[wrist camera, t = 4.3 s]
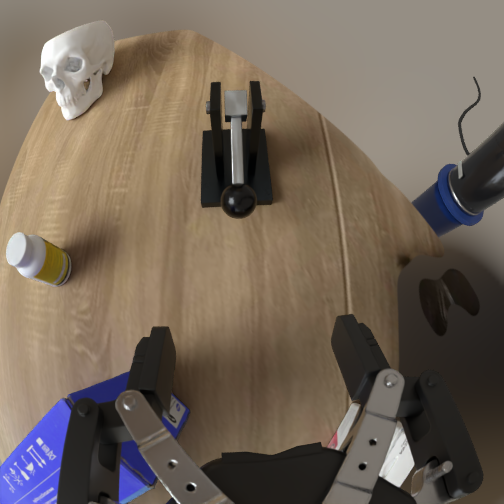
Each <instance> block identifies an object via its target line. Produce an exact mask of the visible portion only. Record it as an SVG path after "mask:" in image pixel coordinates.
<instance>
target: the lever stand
mask: <svg viewBox="0 0 504 504" xmlns="http://www.w3.org/2000/svg"><path fill="white" fill-rule="evenodd" d="M265 108H266V104H265V100H262V96H261V89H260V82H259V81H250V86H249V101H248V117H247V129H242V146H243V174H244V184H247V185H249V186H250V187H251V188H252V189H253V190H254V192H255V194H256V197H257V204H256V205H272V201H273V197H272V188H271V179H270V170H269V161H268V153H267V144H266V136H265V129H261V122H262V114H263V112H265ZM206 113H207V114H210V118H211V128H212V130H208V131H203V141H202V173H201V205H202V208H204V207H221V202H220V201H221V195H222V193H223V191H224V190H225V188H226V187H228V186H229V185H231V184H232V155H231V129H227V130H223V126H222V104H221V82H211V92H210V101H207V102H206Z"/></svg>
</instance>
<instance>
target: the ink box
mask: <svg viewBox="0 0 504 504" xmlns="http://www.w3.org/2000/svg"><path fill="white" fill-rule="evenodd" d="M359 406H360V404H357V403H352V404H351V406H350V408H349V410H348V412H347V414H346V415H345V417H344V419H343V421H342V422H341V424H340V426H339V428H338V430H337V431H336V433H335V435H334V436H333V438H332V440H331V441H330V443H329V445H328V446H327V448H333V449H336V450H339V448H340V446H341V445H342V443H343V441H344V439H345V438H346V436H347V434H348V432H349V429H350V427H351V425H352V423H353V420H354V418H355V416H356V413H357V411H358V409H359ZM395 420H396V419H395ZM413 466H414V460H413V457H412V454H411V451H410V448H409V445H408V441H407V438H406V435H405V432H404V430H403V427H402V424H401V422H400V421H398V420H397V426H396V429H395V433H394V436H393V439H392V442H391V445H390V448H389V450H388V453H387V456H386V458H385V461H384V464H383V466H382V469H381V471H380V474H379V476H381V477H382V478H384V479H385V480H387V481H389V482H390V483H392V484H394V485H395V486H397V487H400V486H401V484H402V483H403V481H404V480H405V478H406V477H407V475H408V474H409V472H410V471H411V469H412V468H413Z"/></svg>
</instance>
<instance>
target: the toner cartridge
mask: <svg viewBox="0 0 504 504" xmlns="http://www.w3.org/2000/svg"><path fill="white" fill-rule="evenodd" d="M129 374H130V371H129V372H126V373H123V374H121V375H119V376H116V377H114V378H112V379H109V380H106V381H104V382H101V383H98V384H96V385H93V386H91V387H88V388H85V389H83V390H80V391H77V392H74V393H71V394H69V395H68V396H67V397H68V399H66V398H62V399H61V400H60V401H59V402H58V403H57V404H56V405H55V406H54V407H53V408H52V409H51V410H50V411H49V412H48V413H47V414H46V415H45V416H44V417H43V418H42V420H41V421H40V422H39V423H38V424H37V425H36V426H35V427H34V429H33V430H32V431H31V432H30V433H29V434H28V435H27V437H26V438H25V439H24V440H23V441H22V442H21V443H20V444H19V445H18V446H17V448H16V449H15V450H14V451H13V452H12V453H11V455H10V456H9V457H8V458H7V459H6V461H5V462H4V463H3V464H2V465H1V466H0V504H57V492H58V482H59V474H60V466H61V460H62V454H63V448H64V442H65V437H66V432H67V427H68V423H69V418H70V414H71V410H72V406H73V405H74V403H75V402H76V401H77V400H79V399H81V398H91V399H93V400H94V401H95V402H96V403H103V402H108V401H113V400H116V399H117V397H118V396H119V395H120V394H121V393H122V392H124V391H125V389H126V386H127V382H128V378H129ZM189 414H190V410H189V409H188V408H187V407H186V406H185V405H184V404H183V403H182V402H181V401H180V400H179V399H178V398H176V397H175V395H174V394H173V393H172V395H171V404H170V415H169V416H162V423H163V424H164V426H165V427H166V428H167V430H168V431H169V432H170V433H171V434H172V436H173V437H174V438H175V439H176V441H177V440H178V438H179V435H180V433H181V431H182V430H183V428H184V426H185V424H186V422H187V420H188V417H189ZM137 447H138V446H137V444H136V442H135V441H134V440H132V441H126V442H122V448H121V461H120V479H119V503H121V504H126V503H128V502H130V501H131V500H133V499H135V498H136V497H138V496H140V495H141V494H143V493H145V492H146V491H148V490H150V489H154V488H155V485H156V483H157V480H158V478H157V476H156V475H155V474H154V472H153V471H152V469H151V468H150V467H149V465H148V464H147V462H146V461H145V459H144V458H143V456H142V455H141V453H140V452H139V450H138V448H137Z"/></svg>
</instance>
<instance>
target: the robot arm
mask: <svg viewBox="0 0 504 504" xmlns="http://www.w3.org/2000/svg"><path fill="white" fill-rule="evenodd" d="M473 78H474V80H475V83H476V85H477V88H478V92H479V96H478V99H477V101H476V102H475V103H474V104H473V105H471V106H470V107H469V108H467V109H466V110H465V111H464V112H463V114H462V115H461V117H460V119H459V122H458V127H459V134H460V138H461V142H462V145H463V148H464V150H465V152H466V154H467V155H468V156H467V157H466V158H465V159H464V160H463V161H460V162H459V163H458V165H457V166H456V167H454V168H453V169H452V170H450V171H449V172H448V174H447V186H448V190H449V193H450V195H451V197H452V199H453V201H454V203H455V204H456V205H457V207H458V208H459V209H460V210H461V211H462V212H463V213H464V214H466V215H468V216H471V217H474V216H476V215H478V214H479V213H481V212H482V211H483V210H485V209H487V208H488V207H490V206H492V205H493V204H495V203H496V202H498V201H499V200H501V199H503V198H504V122H503V123H502V124H501V125H500V126H499V127H498V128H497V129H496V130H495V131H494V132H493V133H492V134H491V135H490V136H489V137H488V138H487V139H486V140H485V141H484V142H483V143H482V144H480V145H479V146H478V147H477V148H476V149H475V150H474V151H472V152H471V153H469V152H468V150H467V148H466V146H465V142H464V139H463V135H462V129H461V122H462V119H463V118H464V116H465V114H466V113H467V112H468V111H469V110H470V109H471V108H473V107H474V106H475V105H477V103H478V102H479V101H480V97H481V93H480V88H479V86H478V83H477V81H476V79H475V77H473ZM331 345H332V349H333V352H334V354H335V357H336V360H337V362H338V365H339V368H340V370H341V373H342V376H343V378H344V381H345V384H346V386H347V389H348V392H349V395H350V397H351V400H352V401H353V400H357V399H359V400H360V402H361V404H360V406H359V409H358V411H357V413H356V416H355V418H354V420H353V423H352V425H351V427H350V429H349V432H348V434H347V436H346V438H345V439H344V441H343V443H342V445H341V446H340V448H339V450H336V449H333V448H327V447H322V445H321V442H318V443H313V444H307V445H301V446H296V447H294V448H291V449H289V450H286V451H283V452H281V453H278V454H275V455H267V454H259V453H252V452H230V453H222V458H218V459H215V460H213V461H210V462H208V463H206V464H205V465H203V466H202V467H201V468H199V467H198V466H197V465H196V464H195V462H194V461H193V460H192V459H191V458H190V457H189V455H188V454H187V453H186V452H185V451H184V449H183V448H182V447H181V446H180V444H179V443H178V442H177V441H176V439H175V438H174V437H173V436H172V434H171V433H170V432H169V431H168V430H167V428H166V427H165V426H164V424H163V423H162V416H169V415H170V404H171V395H172V386H173V378H174V370H175V362H176V350H175V346H174V342H173V339H172V336H171V332H170V329H169V327H152V330H151V334H150V337H143V338H142V339H141V341H140V342H139V343H138V344H137V347H136V350H135V356H134V358H133V363H132V366H131V370H130V374H129V378H128V382H127V386H126V389H125V391H124V392H122V393H121V394H120V395H119V396H118V397H117V399H116V400H113V401H108V402H103V403H96V402H95V401H94V400H93V399H91V398H81V399H79V400H77V401H76V402H75V403H74V405H73V406H72V410H71V414H70V418H69V423H68V427H67V432H66V437H65V442H64V448H63V454H62V460H61V466H60V474H59V482H58V492H57V504H121V503H119V479H120V461H121V448H122V442H126V441H132V440H134V441H135V442H136V444H137V446H138V447H137V448H138V450H139V452H140V453H141V455H142V456H143V458H144V459H145V461H146V462H147V464H148V465H149V467H150V468H151V469H152V471H153V472H154V474H155V475H156V476H157V478H158V479H159V480H160V482H161V483H162V484H163V485H164V487H165V488H166V489H167V491H168V492H169V493H170V494H171V496H172V498H171V499H170V500H169V501H168V502H167V503H166V504H448V503H450V502H453V501H455V500H457V499H460V498H462V497H464V496H466V495H468V494H470V493H473V492H474V491H476V490H477V489H478V488H479V487H480V485H481V484H482V481H483V471H482V468H481V465H480V462H479V459H478V457H477V454H476V451H475V448H474V446H473V443H472V441H471V438H470V436H469V433H468V431H467V429H466V426H465V424H464V422H463V419H462V417H461V415H460V412H459V410H458V408H457V406H456V404H455V402H454V400H453V397H452V396H451V393H450V391H449V389H448V387H447V385H446V383H445V381H444V379H443V378H442V376H441V375H440V374H439V373H438V372H436V371H434V370H426V371H425V372H423V373H422V374H421V375H420V377H404V376H402V375H401V374H400V373H399V372H398V371H396V370H394V369H391V368H390V366H389V364H388V362H387V360H386V358H385V356H384V354H383V352H382V351H381V349H380V347H379V345H378V343H377V341H376V339H374V336H373V334H372V332H371V330H370V329H369V328H368V327H367V326H366V325H365V324H363V323H359V324H358V322H357V320H356V318H355V317H354V315H353V314H349V315H341V316H337V318H336V322H335V326H334V330H333V333H332V337H331ZM395 417H399V418H400V420H401V424H402V427H403V430H404V432H405V435H406V438H407V441H408V445H409V448H410V451H411V454H412V457H413V460H414V464H415V467H416V470H417V471H416V472H415V474H414V476H413V478H412V484H411V487H412V491H411V493H410V494H409V493H408V492H406V491H404V490H402V489H401V488H399V487H397V486H395V485H394V484H392V483H390V482H389V481H387V480H385V479H384V478H382V477H381V476H379V474H380V471H381V469H382V466H383V464H384V461H385V458H386V456H387V453H388V450H389V448H390V445H391V442H392V439H393V436H394V433H395V429H396V426H397V420H395Z"/></svg>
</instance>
